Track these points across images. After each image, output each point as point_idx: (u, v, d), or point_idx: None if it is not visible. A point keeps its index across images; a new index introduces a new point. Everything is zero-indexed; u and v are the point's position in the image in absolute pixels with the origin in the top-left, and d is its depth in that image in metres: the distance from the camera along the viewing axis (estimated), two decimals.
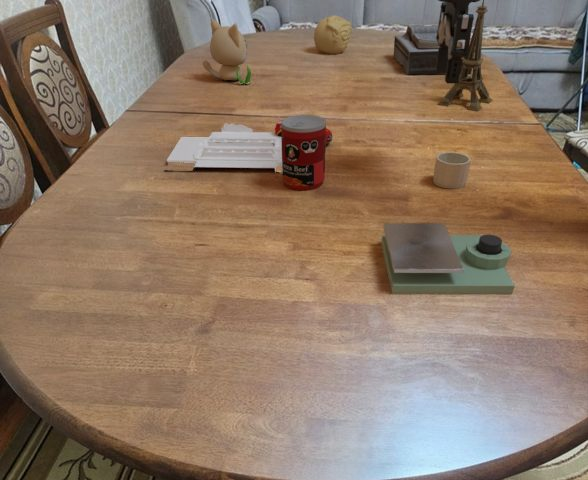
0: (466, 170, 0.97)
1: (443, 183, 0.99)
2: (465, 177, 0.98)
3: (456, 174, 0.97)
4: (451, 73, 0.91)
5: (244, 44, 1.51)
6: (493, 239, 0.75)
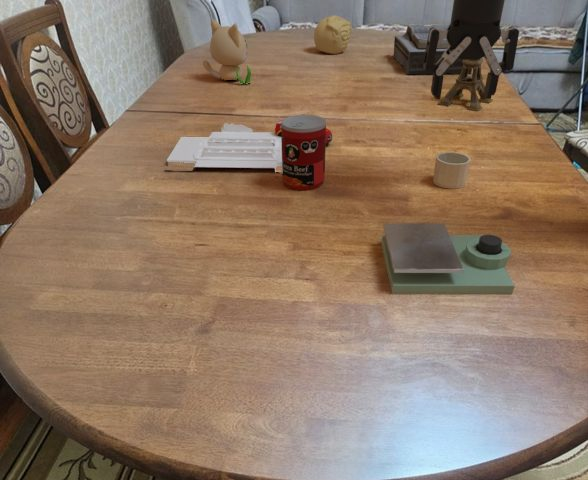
0: (466, 170, 0.97)
1: (443, 183, 0.99)
2: (465, 177, 0.98)
3: (456, 174, 0.97)
4: (431, 86, 0.92)
5: (244, 44, 1.51)
6: (493, 239, 0.75)
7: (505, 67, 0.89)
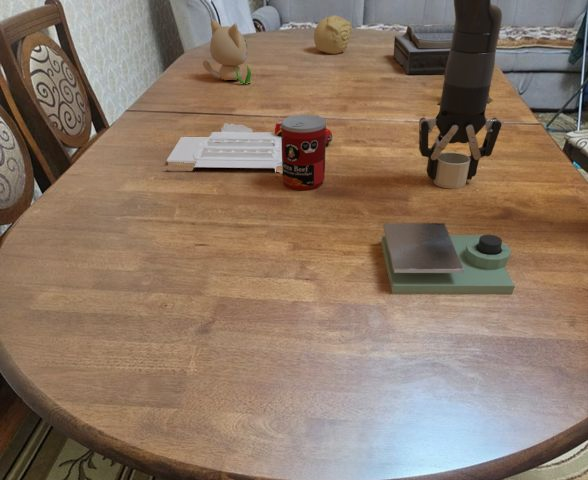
0: (466, 170, 0.97)
1: (443, 183, 0.99)
2: (465, 177, 0.98)
3: (456, 174, 0.97)
4: (427, 167, 1.00)
5: (244, 44, 1.51)
6: (493, 239, 0.75)
7: (484, 153, 0.97)
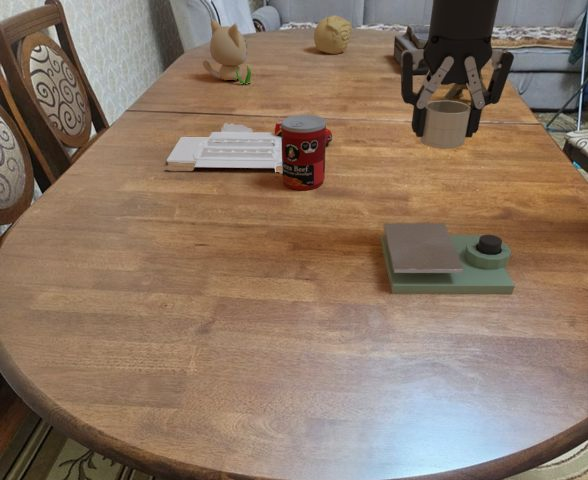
0: (465, 123, 0.72)
1: (433, 141, 0.73)
2: (463, 133, 0.72)
3: (451, 128, 0.71)
4: (412, 121, 0.74)
5: (244, 44, 1.51)
6: (493, 239, 0.75)
7: (489, 99, 0.71)
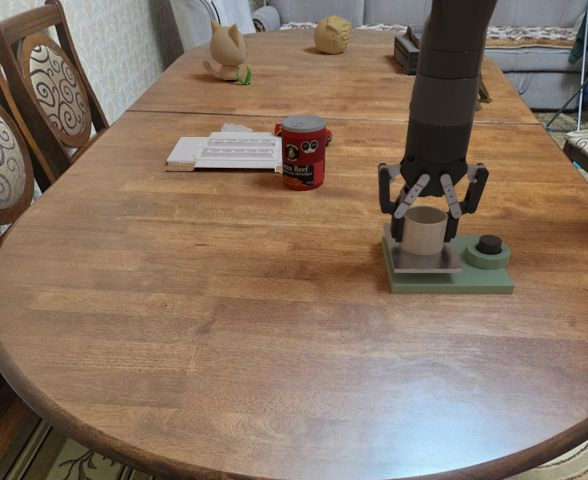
0: (442, 232, 0.72)
1: (412, 248, 0.74)
2: (441, 240, 0.73)
3: (429, 237, 0.72)
4: (390, 226, 0.75)
5: (244, 44, 1.51)
6: (493, 239, 0.75)
7: (466, 209, 0.72)
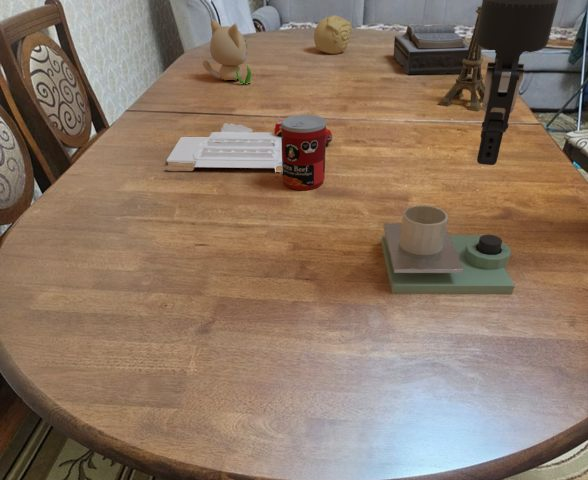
0: (442, 232, 0.72)
1: (412, 248, 0.74)
2: (441, 240, 0.73)
3: (429, 237, 0.72)
4: (484, 151, 0.62)
5: (244, 44, 1.51)
6: (493, 239, 0.75)
7: None
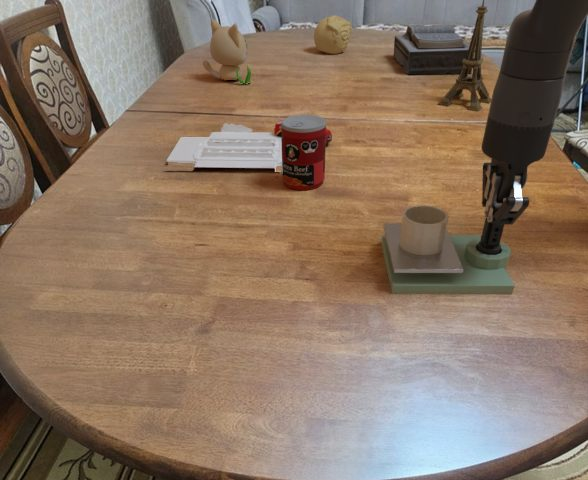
0: (442, 232, 0.72)
1: (412, 248, 0.74)
2: (441, 240, 0.73)
3: (429, 237, 0.72)
4: (491, 238, 0.74)
5: (244, 44, 1.51)
6: None
7: None
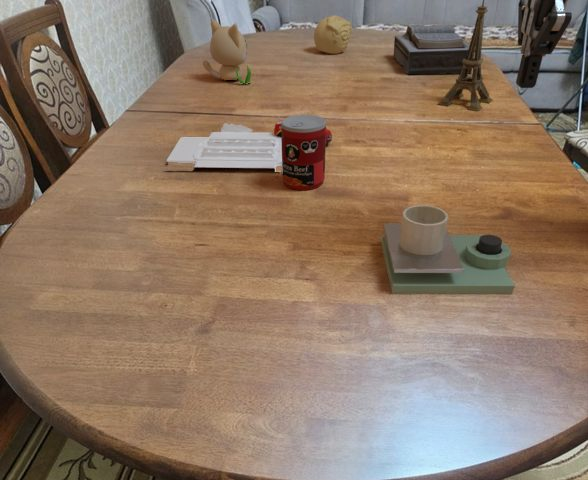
0: (442, 232, 0.72)
1: (412, 248, 0.74)
2: (441, 240, 0.73)
3: (429, 237, 0.72)
4: (528, 75, 0.72)
5: (244, 44, 1.51)
6: (493, 239, 0.75)
7: None
